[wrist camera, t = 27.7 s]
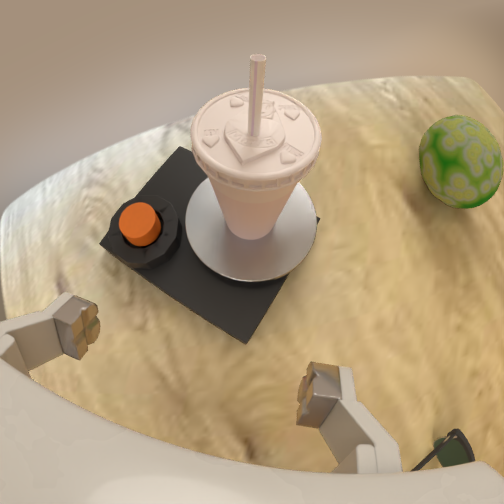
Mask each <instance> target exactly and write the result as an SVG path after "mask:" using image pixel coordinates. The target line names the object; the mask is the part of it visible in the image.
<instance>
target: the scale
mask: <svg viewBox="0 0 504 504" xmlns="http://www.w3.org/2000/svg"><path fill="white" fill-rule="evenodd" d="M207 177H208V175H207V174H206V173H205V172H204V171H203V170H202V169H201V167H200V166H199V165H198V164H197V162H196V160H195V157H194V155H193V152H191V151H189V150H187V149H185V148H182V147H180V146H179V147H178V148H177V150H176V151H175V152H174V153H173V154H172V155H171V156H170V157H169V158H168V159H167V160H166V162H165V163H164V164H163V165H162V166H161V167H160V168H159V169H158V171H157V172H156V173H155V174H154V175H153V176H152V178H151V179H150V180H149V181H148V182H147V183H146V185H145V186H144V187H143V188H142V189H141V191H140V192H139V193H138V194H137V195H136V197H135V198H133V199H131V200H129V201H127V202H126V203H124V204H122V206H121V207H120V208H119V209H118V211H117V212H116V213H115V215H114V216H113V217H112V219H111V223H110V228H109V231H108V232H107V234H106V235H105V237H104V238H103V239H102V241H101V242H100V245H101V246H102V247H103V248H104V249H106V250H107V251H108V252H110V253H111V254H112V255H113V256H115V257H116V258H117V259H119V260H120V261H121V262H123V263H124V264H126V265H127V266H128V267H130V268H131V269H132V270H134V271H135V272H136V273H138V274H139V275H141V276H142V277H143V278H145V279H146V280H148V281H149V282H150V283H152V284H153V285H155V286H156V287H158V288H159V289H160V290H162V291H163V292H165V293H166V294H168V295H169V296H171V297H172V298H174V299H175V300H177V301H178V302H180V303H181V304H183V305H184V306H186V307H187V308H189V309H190V310H192V311H193V312H195V313H196V314H198V315H199V316H201V317H202V318H204V319H206V320H207V321H209V322H210V323H212V324H213V325H215V326H217V327H218V328H220V329H221V330H223V331H225V332H226V333H228V334H229V335H231V336H233V337H234V338H236V339H238V340H239V341H241V342H243V343H244V344H247V343H248V341H249V339H250V338H251V336H252V335H253V333H254V331H255V330H256V328H257V326H258V325H259V323H260V321H261V320H262V318H263V317H264V315H265V313H266V312H267V310H268V308H269V307H270V305H271V303H272V302H273V300H274V298H275V297H276V295H277V293H278V292H279V290H280V288H281V287H282V285H283V283H284V281H285V280H286V278H287V276H288V275H289V273H290V272H289V273H288V274H286V275H284V276H282V277H280V278H278V279H275V280H272V281H268V282H263V283H240V282H236V281H231V280H229V279H226V278H223V277H221V276H219V275H217V274H215V273H214V272H212V271H211V270H210V269H208V268H207V267H206V266H205V265H204V264H203V263H202V262H201V261H200V260H199V259H198V257H197V256H196V255H195V253H194V251H193V250H192V248H191V245H190V243H189V241H188V238H187V234H186V228H185V215H186V210H187V206H188V203H189V200H190V198H191V196H192V195H193V193H194V191H195V190H196V189H197V187H198V186H199V185H200V184H201V183H202V182H203V181H204V180H205V179H206V178H207ZM139 202H142V203H146V204H149V205H150V206H151V207H152V208H153V209H154V211H155V213H156V215H157V217H158V218H159V220H160V223H161V230H160V233H159V236H158V237H157V239H156V240H155V241H154V242H152V243H151V244H149V245H147V246H135V245H133V244H131V243H130V242H129V241H128V239H127V238H126V237H125V236H124V235H123V234H122V232H121V230H120V228H119V219H120V216H121V214H122V212H123V211H124V210H125V209H126V208H127V207H128V206H130V205H132V204H134V203H139ZM316 217H317V216H316ZM319 220H320V218H318V217H317V224H318V222H319Z"/></svg>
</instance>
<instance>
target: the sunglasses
mask: <svg viewBox="0 0 504 504" xmlns="http://www.w3.org/2000/svg"><path fill="white" fill-rule="evenodd" d="M433 447H434V450H433V451H432V452H431V453H430V454H429V455H428V456H427V457H426V458H424V459H423V460H422V461H421V462H420V463H419V464H418V465H417V466H416V467H415V468H414V469H412V470H411V471H418V470H420V469H421V468H422V467H423V466H424V465H425V464H426V463H427V462H429V461H430V460H431V459H432V458H433V457H434V456H435V455H436V456H437V459H438V460H439V462H440V464H441V465H442V467H449V466H455V465H460V464H465V463H469V462H474V461H475V457H474V454H473V451H472V448H471V446H470V444H469V442H468V440H467V438H466V437H465V435H464V434H463V433H462V432H461V430H459V429H453V430H452V431H451V432H449V433H448V434H447V436H443V437H440V438H437V439H436V440H435V441H434V443H433Z"/></svg>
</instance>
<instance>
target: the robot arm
mask: <svg viewBox="0 0 504 504" xmlns="http://www.w3.org/2000/svg"><path fill="white" fill-rule="evenodd" d="M97 313H98V307H97V305H96V304H95V303H93V302H90V301H88V300H86V299H83V298H81V297H78V296H75V295H73V294H71V293H68V292H64V293H62V294H61V295H60V296H59V297H58V298H57V299H56V300H54V301H53V302H52V303H51V304H50V305H49V306H48V307H47V308H45V309H44V310H43V311H42V312H40V311H37V312H33V313H30V314H26V315H23V316H19V317H15V318H12V319H8V320H5V321H1V322H0V504H504V477H503V476H501V475H500V474H499V473H498V472H497V471H496V470H495V469H494V468H492V467H491V466H490V465H489V464H487V463H486V462H484V461H474V462H469V463H465V464H460V465H455V466H449V467H442V468H436V469H428V470H420V471H409V472H403V470H402V464H401V458H400V452H399V446H398V443H397V442H396V441H395V440H394V439H393V438H392V437H391V435H390V434H389V433H388V432H387V431H386V430H385V429H384V428H383V426H382V425H381V424H380V423H379V422H378V421H377V420H376V419H375V417H374V416H373V415H372V414H371V413H370V412H369V411H368V410H367V408H366V407H365V406H364V405H363V404H362V403H361V402H358V401H357V398H356V391H355V385H354V378H353V372H352V369H351V367H343V366H335V365H329V364H322V363H316V362H310V363H309V365H308V367H307V375H306V376H304V377H303V378H302V380H301V383H300V386H299V390H298V398H297V401H298V402H299V404H300V405H299V407H298V409H297V420H296V425H300V426H306V427H313V428H319V431H320V433H321V435H322V436H323V438H324V440H325V441H326V443H327V445H328V446H329V448H330V450H331V451H332V453H333V455H334V456H335V458H336V460H337V461H338V463H339V465H338V466H337V467H336V468H335V469H334V470H333V471H332V472H331V473H322V472H309V471H298V470H289V469H281V468H274V467H267V466H261V465H255V464H249V463H244V462H239V461H234V460H230V459H225V458H221V457H216V456H212V455H208V454H204V453H201V452H197V451H193V450H190V449H186V448H183V447H180V446H176V445H173V444H170V443H167V442H164V441H161V440H158V439H155V438H152V437H150V436H147V435H144V434H142V433H139V432H136V431H134V430H131V429H129V428H126V427H124V426H121V425H119V424H117V423H114V422H112V421H110V420H107V419H105V418H103V417H101V416H99V415H96V414H94V413H92V412H90V411H88V410H86V409H84V408H82V407H80V406H78V405H76V404H74V403H72V402H70V401H68V400H67V399H65V398H63V397H61V396H59V395H57V394H56V393H54V392H52V391H50V390H49V389H47V388H45V387H44V386H42V385H40V384H39V383H37V382H35V381H34V380H32V378H31V376H30V374H29V372H28V371H30V370H32V369H34V368H36V367H38V366H40V365H42V364H44V363H46V362H48V361H50V360H52V359H54V358H56V357H58V356H61V355H63V353H64V354H66V355H68V356H71V357H73V358H75V359H77V360H81V358H82V357H83V356H84V355H85V353H86V352H87V351H88V345H89V344H92V343H94V342H95V341H96V339H97V338H98V335H99V333H100V321H99V319H98V318H97V316H96V315H97Z"/></svg>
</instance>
